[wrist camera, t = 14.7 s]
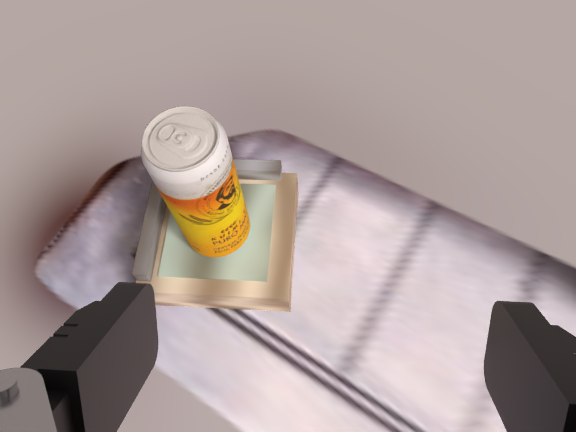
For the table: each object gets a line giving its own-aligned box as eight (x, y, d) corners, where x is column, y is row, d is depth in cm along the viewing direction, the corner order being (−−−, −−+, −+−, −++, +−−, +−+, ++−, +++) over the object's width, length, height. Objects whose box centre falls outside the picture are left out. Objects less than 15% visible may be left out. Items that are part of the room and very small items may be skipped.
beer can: (231, 270, 45) (195, 188, 32) (175, 245, 47) (118, 155, 33) (262, 216, 47) (240, 118, 34) (207, 193, 49) (166, 90, 36)
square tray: (298, 190, 53) (296, 160, 48) (290, 311, 47) (286, 292, 42) (170, 186, 54) (155, 157, 49) (147, 304, 49) (127, 284, 43)
